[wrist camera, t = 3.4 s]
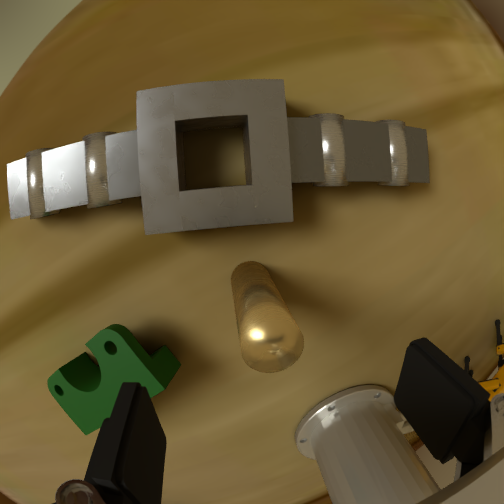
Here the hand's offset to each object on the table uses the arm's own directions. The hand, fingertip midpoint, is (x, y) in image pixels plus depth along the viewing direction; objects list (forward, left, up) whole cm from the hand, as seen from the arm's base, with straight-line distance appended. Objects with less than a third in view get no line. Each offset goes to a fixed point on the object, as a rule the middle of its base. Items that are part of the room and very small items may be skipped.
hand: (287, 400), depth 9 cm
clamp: (+13, +7, -15) cm, 21 cm away
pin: (0, +1, -14) cm, 14 cm away
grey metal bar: (+2, -9, -14) cm, 17 cm away
